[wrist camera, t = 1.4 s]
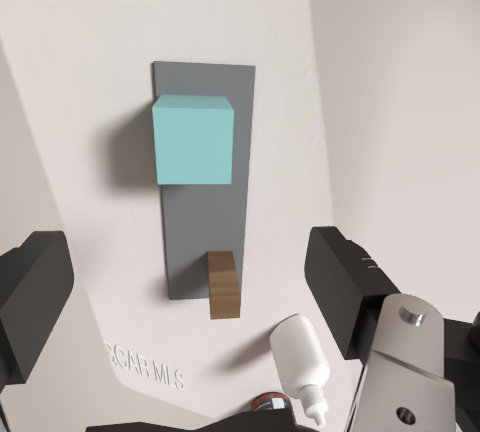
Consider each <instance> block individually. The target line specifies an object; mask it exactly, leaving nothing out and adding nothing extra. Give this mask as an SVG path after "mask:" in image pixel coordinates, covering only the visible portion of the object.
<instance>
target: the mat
mask: <svg viewBox="0 0 480 432" xmlns="http://www.w3.org/2000/svg"><path fill="white" fill-rule="evenodd" d="M154 69H155V84H156V99H157V100H158V98H159V97H160V95H161V94H167V95H196V96H224V97H226V99H227V100H228V102H229V103H230V105H231V106H232V108H233V109H234V120H233V146H232V172H231V184H162V191H163V207H164V222H165V237H166V253H167V268H168V283H169V299H170V300H181V299H201V298H209V286H208V251H233V256H234V261H235V266H236V271H237V276H238V282H239V287H240V292H241V286H242V270H243V254H244V239H245V223H246V207H247V192H248V176H249V160H250V145H251V129H252V113H253V98H254V82H255V66H245V65H224V64H204V63H183V62H162V61H154Z"/></svg>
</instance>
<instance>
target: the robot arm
mask: <svg viewBox="0 0 480 432" xmlns="http://www.w3.org/2000/svg"><path fill="white" fill-rule="evenodd" d="M304 270H305V278H306V281H307V284H308V286H309V288H310V290H311V292H312V294H313V296H314V298H315V300H316V302H317V304H318V306H319V308H320V311H321V313H322V315H323V317H324V319H325V321H326V323H327V325H328V327H329V329H330V331H331V333H332V335H333V337H334V339H335V341H336V343H337V346H338V348H339V350H340V352H341V354H342V356H343V358H344V360H352V359H360V361H361V363H362V364H363V366H362V369H361V372H360V376H359V380H358V383H357V387H356V390H355V394H354V397H353V401H352V405H351V408H350V412H349V416H348V419H347V423H346V426H345V430H344V432H456V424H455V421H456V422H457V424H458V425H459V427H460V428H461V430H462V431H463V432H480V312H479V313H478V314H477V316H476V318H475V320H474V322H473V324H472V323H467V322H461V321H456V320H450V319H445V318H443V317H442V316H441V314H440V313H439V311H438V310H437V309H436V308H435V307H433V306H432V305H431V304H429V303H428V302H426V301H424V300H422V299H420V298H418V297H415V296H412V295H408V294H402V293H401V292H400V291H399V290H398V288H397V287H396V286H395V285H394V284H393V283H392V282H391V280H390V279H389V278H388V277H387V276H386V274H385V273H384V272H383V271H382V270H381V269H380V268H378V265H377V264H376V263H375V261H374V260H371V257H370V256H369V255H368V253H367V252H366V251H365V250H364V249H363V248H362V247H360V246H359V245H357V244H356V243H354V242H352V241H351V240H346V239H345V237H344V236H343V235H342V234H341V233H340V231H339V230H338V229H337V228H336V227H335V226H325V227H313V228H312V229H311V232H310V236H309V242H308V248H307V254H306V260H305V267H304ZM73 283H74V272H73V267H72V263H71V258H70V254H69V249H68V245H67V240H66V236H65V234H64V233H63V232H62V231H34V232H33V233H32V234H31V235H30V236H29V237H28V238H27V239H26V240H25V242H24V243H23V244H22V245H21V246H20V247H19V248H13V249H11V250H10V251H8V252H6V253H5V254H3V255H2V256H0V394H1V392H2V390H3V389H4V387H5V385H13V384H25V383H26V381H27V379H28V377H29V375H30V373H31V371H32V369H33V367H34V365H35V363H36V361H37V359H38V357H39V355H40V353H41V351H42V349H43V347H44V345H45V343H46V341H47V339H48V337H49V335H50V333H51V331H52V329H53V327H54V325H55V323H56V321H57V319H58V317H59V315H60V313H61V311H62V309H63V307H64V305H65V303H66V301H67V299H68V297H69V295H70V293H71V291H72V288H73ZM0 432H11V428H10V426H9V423H8V420H7V417H6V414H5V411H4V408H3V405H2V402H1V400H0ZM85 432H319V431H317V430H315V429H312V428H309V427H306V426H302V425H298V424H295V423H294V419H293V415H292V412H291V408H290V407H289V408H278V409H268V410H257V411H247V412H242V413H239V414H236V415H234V416H231V417H229V418H226V419H223V420H221V421H218V422H215V423H213V424H210V425H207V426H205V427H202V428H199V429H196V430H184V429H179V428H172V427H166V426H161V425H155V424H150V423H144V422H134V423H123V424H113V425H102V426H91V427H87V428H86V431H85Z"/></svg>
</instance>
